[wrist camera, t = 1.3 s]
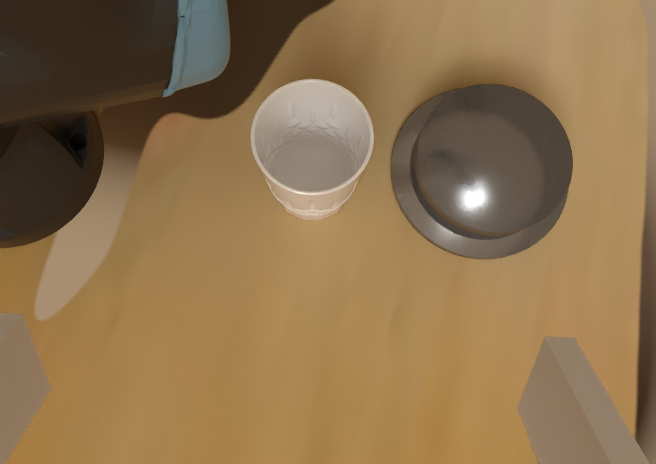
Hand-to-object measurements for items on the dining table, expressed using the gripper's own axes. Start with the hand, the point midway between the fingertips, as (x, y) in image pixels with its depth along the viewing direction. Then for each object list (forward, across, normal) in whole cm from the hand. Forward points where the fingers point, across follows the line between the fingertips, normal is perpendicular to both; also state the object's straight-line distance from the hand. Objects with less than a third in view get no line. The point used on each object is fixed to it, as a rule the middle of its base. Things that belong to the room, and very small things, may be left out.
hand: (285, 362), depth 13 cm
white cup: (+28, 0, -8) cm, 29 cm away
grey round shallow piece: (+29, +14, -7) cm, 33 cm away
